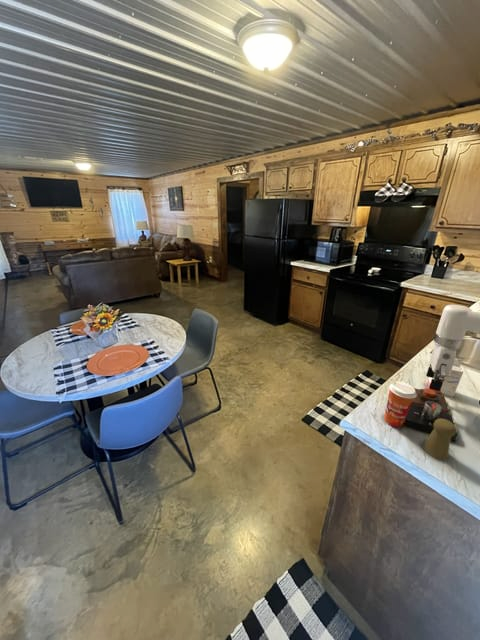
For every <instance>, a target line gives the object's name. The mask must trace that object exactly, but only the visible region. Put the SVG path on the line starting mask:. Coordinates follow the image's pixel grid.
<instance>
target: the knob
mask: <svg viewBox="0 0 480 640" xmlns="http://www.w3.org/2000/svg"><path fill="white" fill-rule="evenodd" d="M440 411H441V406H440V405H439V404H437V403H435V402H433V401H426V402H425V405H424V408H423V411H422V414H421V415H422V417H423V418H425V419H426V420H428V421H431V422H435V420H437V419H438V416H439V414H440Z"/></svg>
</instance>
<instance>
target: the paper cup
mask: <svg viewBox="0 0 480 640" xmlns="http://www.w3.org/2000/svg"><path fill="white" fill-rule="evenodd" d="M414 388H415V387H414V386H412V385H411V384H409V383H407V382H405V381H404V382H403V381H394V382H393V383H392V384H389V392H388V396H387V402H386V406H385V413H384V421H385V422H386V423H387V424H388V425H389V426H392V427H395V428H400V427H402V426H404V420H405V418H406V416H407V413H408V411H409V409H410V406H411V404H412V402H413V399H414V398H416V396H417V394H416V392H415V389H414Z"/></svg>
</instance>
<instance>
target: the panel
mask: <svg viewBox="0 0 480 640" xmlns="http://www.w3.org/2000/svg"><path fill="white" fill-rule="evenodd" d="M423 408H424V407H421V406H417V405H413V404H411V406H410V409H409V411H408V413H407V416H406V418H405V420H404V423H403V427H405V428H409V429H411V430H414V431H418V432H421V433H424V434H427V435H430V434H431V433H432V431H433V430H434V426H433V424H434V422H431V421H428V420H426V419H425V418H423V417H422V415H421V414H422V411H423ZM453 418H454V417H453V416H452V414H449V413H448V414H445V413H442V412H440V414H439V416H438V419H446V420H448V421H450V422H452V423H453V424H454V425H455V422H454V419H453ZM458 436H459V434H458V431H457V430H456V433H455V434H454V435H453V436H451V440H450V442H452V443H456V440H457V438H458Z"/></svg>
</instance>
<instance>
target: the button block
mask: <svg viewBox="0 0 480 640" xmlns="http://www.w3.org/2000/svg"><path fill="white" fill-rule="evenodd" d="M413 388H414V389H415V392H416V394H417V396H416V398H414V399H413V402H412V404H413V405H417V406H421V407H424V405H425V402H426V401H433V402H435V403H437V404H439V405H440V406H441V411H440V412H442V413H445V414H449V413H450V410H449V406H448V403H447V401H446V397H445V395H444V394H440V393H437V392H435V396H434V398H430V397H427V396H425V395H423V391H424V389H425V388H416V387H413Z"/></svg>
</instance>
